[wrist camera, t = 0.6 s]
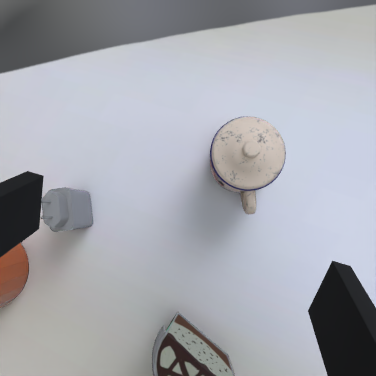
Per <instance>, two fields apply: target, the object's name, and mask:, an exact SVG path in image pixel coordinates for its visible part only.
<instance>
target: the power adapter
mask: <svg viewBox="0 0 376 376" xmlns="http://www.w3.org/2000/svg"><path fill="white" fill-rule="evenodd" d="M41 203H42V210H43V217H41V219H43V220H44V222H45V224H47V225H48V226H50V229H51V230H52V231H54V232H58V231H65V230H72V229H79V228H85V227H90V226H91V225H92V224H93V216H92V207H91V199H90V194H89V192H87V191H82V190H76V189H70V188H58V189H51V190H49V191H48V192H47V193H46V195H45V196H44V197H43V198H42V200H41Z"/></svg>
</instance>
